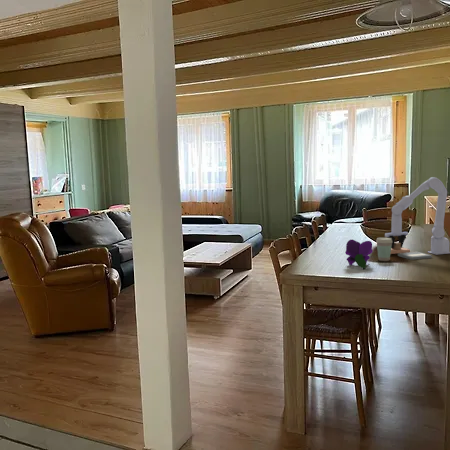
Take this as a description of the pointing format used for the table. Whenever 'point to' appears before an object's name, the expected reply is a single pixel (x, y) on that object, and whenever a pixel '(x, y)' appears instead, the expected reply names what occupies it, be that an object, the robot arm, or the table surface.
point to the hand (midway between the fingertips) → (396, 248)
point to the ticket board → (414, 255)
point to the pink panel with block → (398, 249)
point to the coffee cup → (384, 248)
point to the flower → (358, 252)
